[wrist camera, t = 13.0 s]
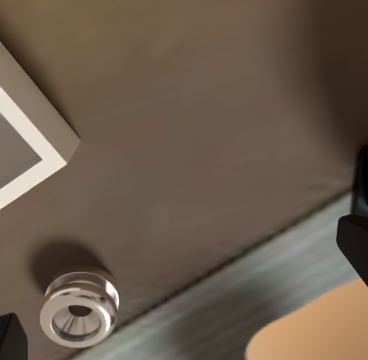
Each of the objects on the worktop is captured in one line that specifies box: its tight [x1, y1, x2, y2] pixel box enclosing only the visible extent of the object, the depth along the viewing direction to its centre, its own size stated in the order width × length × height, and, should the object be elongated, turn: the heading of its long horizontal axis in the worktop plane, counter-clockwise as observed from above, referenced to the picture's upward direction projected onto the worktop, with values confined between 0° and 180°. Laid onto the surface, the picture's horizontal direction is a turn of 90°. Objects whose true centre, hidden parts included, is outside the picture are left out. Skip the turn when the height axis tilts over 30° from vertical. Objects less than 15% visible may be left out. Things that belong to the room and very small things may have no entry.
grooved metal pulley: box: [38, 264, 119, 348], centre depth 23 cm, size 5×3×5 cm
